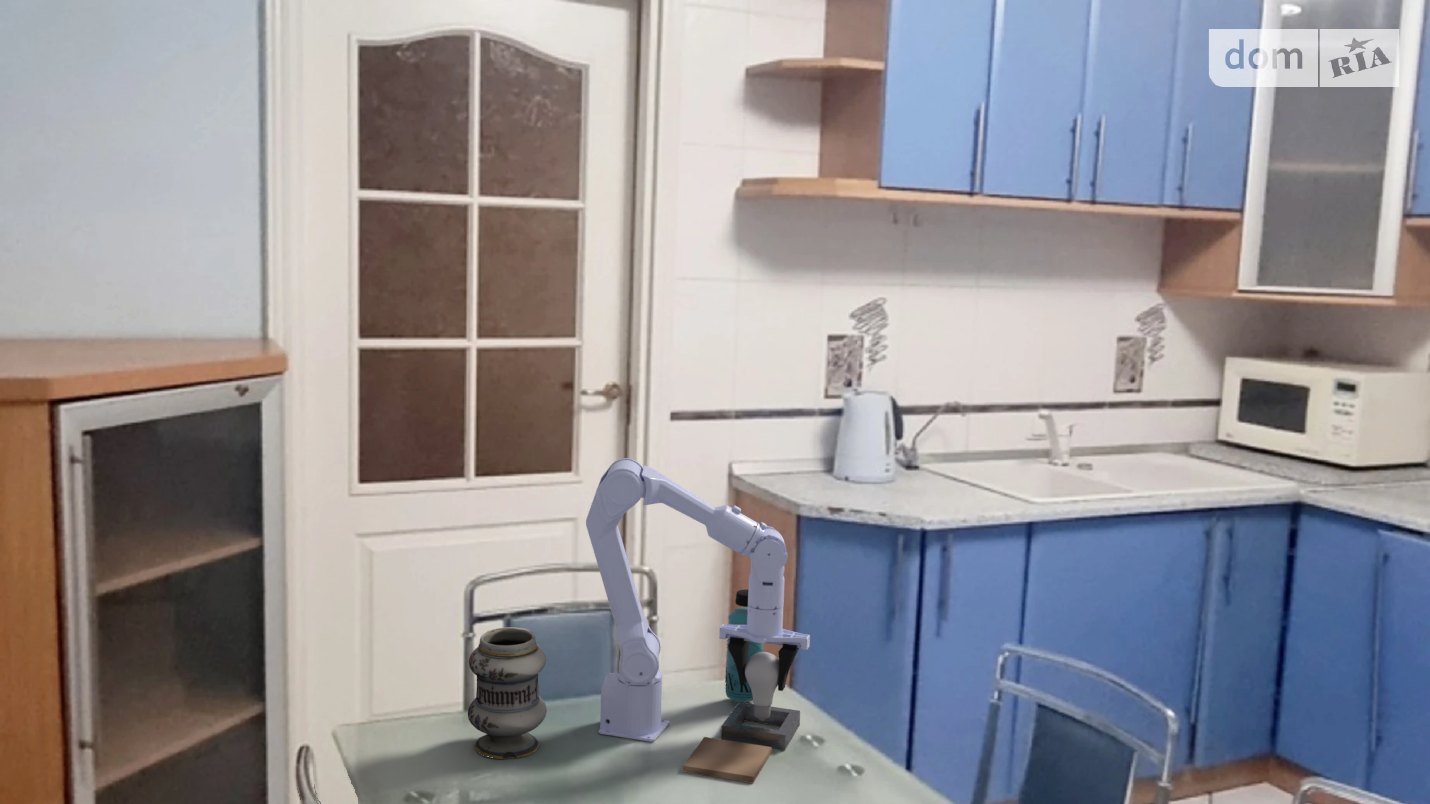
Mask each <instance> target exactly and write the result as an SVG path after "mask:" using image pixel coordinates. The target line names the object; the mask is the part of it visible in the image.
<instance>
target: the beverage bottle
mask: <svg viewBox="0 0 1430 804" xmlns="http://www.w3.org/2000/svg"><path fill="white" fill-rule="evenodd" d="M748 589H749V588H746V589H740V590H737V591H736V593H735V596H736V597H735V600H734V601H735V604H736V605H737V606H738V607H737V608H735V609H734V610H733V611H731V612H730V613H729V614H728V624H729V625H747V615H748ZM739 606H740V607H739ZM726 640H727V641H726V642H727V643H726V645H727V647H726V648H727V649H726V654H725V656H726V658H725V659H726V666H725V678H724V679H725V681H724V684H725V695H726V696H727V698H728V699H730V700H733V701H736V702H743V703H747V702H753V695H752V691H751V688H750V686H749V684H748V681H747V682H746V683H745V685H744V686H743V685H740V682H739V676H738V672H737V668H736V665H735V662H734V660H733V657H732V655H731V653H730V652H729V650H728V644H729V641H730V639H729V638H727V639H726ZM759 652H764V643H756V642H752V641H750V643H749V651H748V660H749V658H750V657H751V656H753V655H754V654H756V653H759Z"/></svg>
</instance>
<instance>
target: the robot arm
mask: <svg viewBox="0 0 1430 804" xmlns="http://www.w3.org/2000/svg"><path fill="white" fill-rule="evenodd" d="M641 499H643V502H642V505H643V506H648V505H650V506H651V505H655V504H663V505H666V506H668V507H670V508H671V509H673V510H675V511H677V512H679V513H681V514H683V515H685V516H687V517H688V518H691V519H692V520H695V521H697V522H698V523H701V524H702V525H704V526H705V528H706V532H707V536H708V537H709V538H711V539H713V540H714V541H716V542H718V543H720V544H722V545H723V546H725V547H727V548H729V549H730V550H732V551H734V552H735V553H737V554H739V555H740V556H742V557H743V556H744V557H749V559H750V574H749V576H748V588H747V589H748V615H747V625H729V623H728V624H727V623H722V625H720V626H719V639H720V640H727V639H728V638H729V639H730V641H729V644H728V643H727V644H728V650H729V652H730V653H731V655H732V657H733V660H734V662H735V665H736V668H737V672H738V676H739V682H740V685H743V686H744V685H745V683H746V682H747V679H746V677H745V665H746V663H747V661H748V651H749V643H750V641H752V642H756V643H763V644H769V645H775V646H782V647H781V648H780V649H779V650H778V660H779V680H778V686H777V690H778V691H780V692H783V691H784V690H785V688H786V683H787V678H788V675H789V673H790V669H791V666H792V663H793V662H794V660H795V658H796V656H797V653H798V652H799V650H804V651H807V650H808V649H809V647H810V646H811V645H810V641H811V635H810V634H807V633H806V634H805V633H801V632H796V631H792V630H788V629H785V628H783V627H784V626H783V623H784V606H785V605H784V603H785V602H784V600H785V583H786V581H785V579H786V578H785V574H784V573H785V565H786V563H787V562H788V557H789V553H788V551H787V547H786V542H785V540H784V537H783V536H782V534H781V533H780V532H779V531H778V530H776V529H775V528H774V526H768V525H767V524H766V523H764V522H763V521H760V523H759V522H758V521H755V520H753V519H752V518H750V517H749V516H746V515H745V514H744V513H742V508H740V507H738V506H737V505H733V506H732V507H731V506H729V505H727V504H725V505H720V506H713V505H712V504H710V503H708V502H707V501H705V500H704V499H702V498H701V497H700V496H697V495H696V494H695V493H693V492H691V491H689V490H688V489H687V488H685V487H683V486H682V485H680V484H679V483H677V482H675V481H673V480H672V479H670V478H669V477H668V476H666V475H664V474H662V473H661V472H659V471H658V470H656V469H654V468H652V467H650V466H647V465H643V466H642V464H641V463H640V462H638V461H637V460H635V459H633V458H628V457H624V458H620V459H617V460H615V461H613V463H612V464H610V465H609V467H608V468H607V470H606V471H605V472H604V474H603V475H602V476H601V478H600V479H599V483H598V485H597V488H596V491H595V493H594V496H593V499H592V503H591V505H590V508H589V510H588V514H587V517H586V521H585V525H586V529H587V533H588V537H589V539H590V544H591V547H592V549H593V554H594V557H595V559H596V564H597V567H598V570H599V574H600V576H601V581H602V584H603V586H604V591H605V594H606V597H607V601H608V604H609V607H610V610H611V613H612V617H613V621H614V625H615V628H616V637H617V643H618V644H617V645H618V649H619V652H620V653H619V654H620V655H619V661H618V671H617V672H609V673H608V674H607V675H606V676H605V678H604V680H603V683H602V686H601V690H600V691H601V693H600V723H599V724H600V726H599V727H600V728H599V729H598V734H600V735H607V736H611V737H613V736H614V737H620V738H626V739H632V740H637V741H639V740H640V741H644V742H654V741H656V739H657V738H658V737H659V736H660V735H661V733H663V731H664V730H665V729H666V728H667V727H668V726H669V724H670V721H669V720H667V719H662V693H663V692H662V689H663V687H662V686H663V673H662V671H660V670H659V668H660V663H659V656H660V652H661V647H662V646H661V641H660V639H659V637H658V636H657V635H656V634H655V633H654V631H653V630H652V628H651V627H650V624H649V621H648V619H647V617H646V616H645V613H644V611H643V607H642V604H641V601H640V597H639V593H638V590H637V587H636V583H635V580H634V577H633V573H632V571H631V570H632V569H631V567H630V562H629V559H628V557H627V553H626V550H625V549H626V548H625V546H624V541H623V538H622V535H621V532H620V529H619V526H618V524H619V523H620V522H621V520H622V519H623V517H624V515H625V513H627V512H628V511H629V510H630V509H632V508H633V507H634V506H636V504H638V503H639V501H641Z"/></svg>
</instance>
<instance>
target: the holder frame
mask: <svg viewBox="0 0 1430 804" xmlns="http://www.w3.org/2000/svg"><path fill="white" fill-rule="evenodd" d="M754 711H755V710H754V703H748V702H743V701H738V703H737V704H736V706H734V708H733V709H732V711H731V712H730V714H729V715H728V716H727V717H726V719H725V720H724V721H723V723H722V724H721V729H720V731H721V732H720V739H722V740H728V741H735V742H741V743H748V744H754V745H761V746H767V747H772V749H773V750H774V749H775V750H779V751H780V750H781V751H785V750H786V749H787V748H788V746H789V745H790V743H791V741H792V739H793V738H794V735H796V732H797V731H798V729H799V727H800V725H801V710H797V709H790V708H784V707H778V706H777V707H775V706H771V711H770V717H769V718H767V719H766V720H765V721H760V720H759V719H758V718H756V717H755V712H754ZM745 722H750V723H758V724H763V725H764V724H765V725H771V726H776V727H777V726H778V727H779V729H778V730H777V729H773V728H772V729H771V728H767V727H766V728H765V727H759V726H754V725H753V726H752V725H745V724H744V723H745Z"/></svg>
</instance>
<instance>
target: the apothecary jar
mask: <svg viewBox="0 0 1430 804" xmlns="http://www.w3.org/2000/svg"><path fill="white" fill-rule="evenodd" d="M546 662H547V656H546V653H545V651H544V650H543V649H542V647H540V646H539V645H538V644H537V641H536V635H535V633H534V632H532V631H531V630H529V629H527V628H525V627H524V628H523V627H512V626H511V627H510V626H509V627H507V626H506V627H498V628H494V629H490V630H487V631H486V632H483V634H481V636H480V639H479V643H478V646H477V647H476V648H475V649H474V650H473V651H472V652H471V654H470V656H469V659H468V666H469V669H470V671H471V672H472V673H473V674H474V675H475V676H476V689H475V690H476V692H475V694H476V695H475V698H474V699H473V700H472V701H471V703H470V704H469V706H468V709H467V718H468V721H469V723H470V724H471V725H472V726H473V727H474V728H475V729H476V730H478V731H479V732H481V733H484V735H482V736H481V737H479V738H478V739H476V741H475V743H474V750H475V751H476V750H477V751H476V752H477V753H478V754H479V753H480V754H479V755H481V754H482V755H481V756H483V755H484V756H483V757H485V756H489V757H493V758H498V759H497V760H505V759H504V758H507V759H510V757H511V758H512V757H514V758H513V759H519V758H520V757H521V758H524V757H527V756H530V755H531V754H533V753H534V752H536V751H537V750H538V748H539V744H540V743H539V740H538V739H537V738H536V736H534V735H533V734H531V733H530V732H531V731H534V730H535V729H537V728H538V727H539V726H540V725H541V724H542V723H543V722H544V720H545V719H546V716H547V711H548V710H547V705H546V702H545V701H544V699H543V698H542V697H541V696H540V693H539V673H540V672H542V671H543V670H544V668H545V666H546ZM523 756H524V757H523ZM493 758H492V759H493Z"/></svg>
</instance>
